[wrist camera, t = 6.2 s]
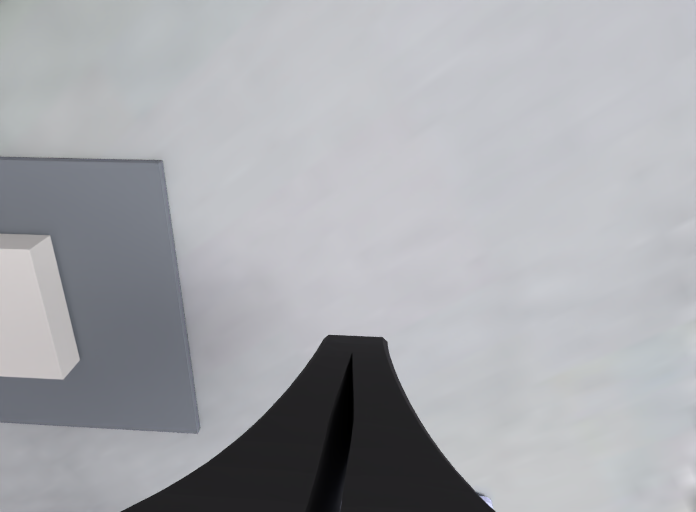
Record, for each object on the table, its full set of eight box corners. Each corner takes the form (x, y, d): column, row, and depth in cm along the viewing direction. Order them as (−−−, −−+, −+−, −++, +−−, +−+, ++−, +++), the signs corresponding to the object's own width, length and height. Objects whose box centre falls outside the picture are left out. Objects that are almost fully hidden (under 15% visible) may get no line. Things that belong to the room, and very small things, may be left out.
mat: (200, 427, 27) (197, 433, 27) (-40, 414, 28) (-46, 419, 28) (162, 160, 22) (158, 163, 21) (-135, 153, 22) (-143, 156, 22)
